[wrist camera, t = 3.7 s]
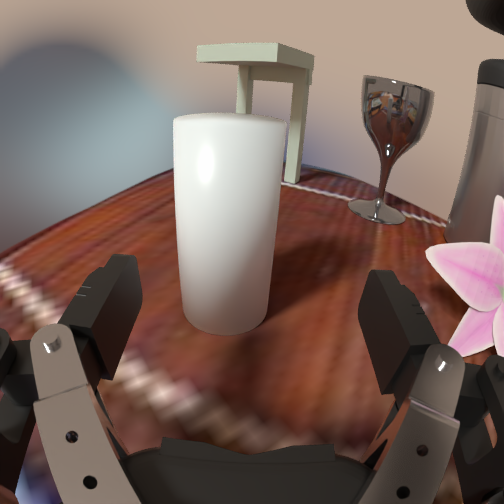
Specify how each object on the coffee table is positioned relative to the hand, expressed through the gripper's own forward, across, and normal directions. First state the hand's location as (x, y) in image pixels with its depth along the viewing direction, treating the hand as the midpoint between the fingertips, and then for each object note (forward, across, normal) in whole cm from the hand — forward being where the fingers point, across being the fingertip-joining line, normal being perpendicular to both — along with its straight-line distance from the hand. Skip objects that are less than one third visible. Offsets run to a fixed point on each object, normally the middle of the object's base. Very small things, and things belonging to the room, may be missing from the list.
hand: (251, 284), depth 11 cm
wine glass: (+24, -14, +7) cm, 29 cm away
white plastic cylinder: (+6, +1, +6) cm, 9 cm away
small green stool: (+30, 0, +7) cm, 31 cm away
